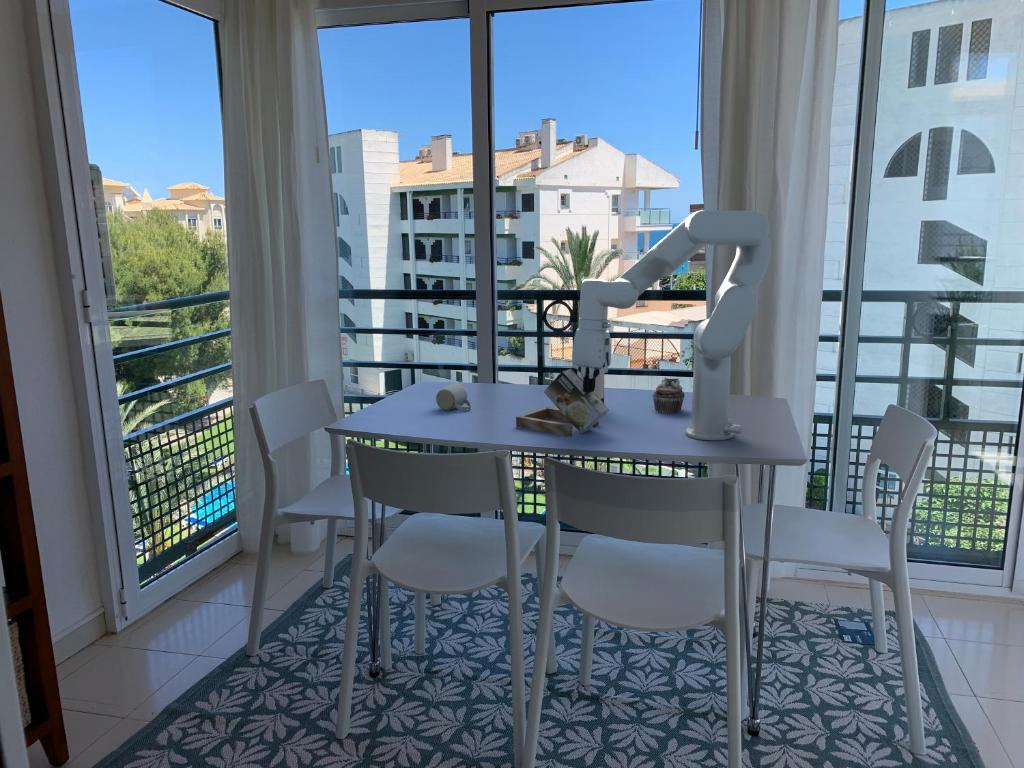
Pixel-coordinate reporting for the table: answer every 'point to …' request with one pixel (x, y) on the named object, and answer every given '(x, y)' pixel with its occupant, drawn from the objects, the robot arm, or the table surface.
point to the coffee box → (575, 400)
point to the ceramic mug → (453, 397)
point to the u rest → (538, 423)
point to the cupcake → (668, 396)
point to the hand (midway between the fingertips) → (588, 391)
